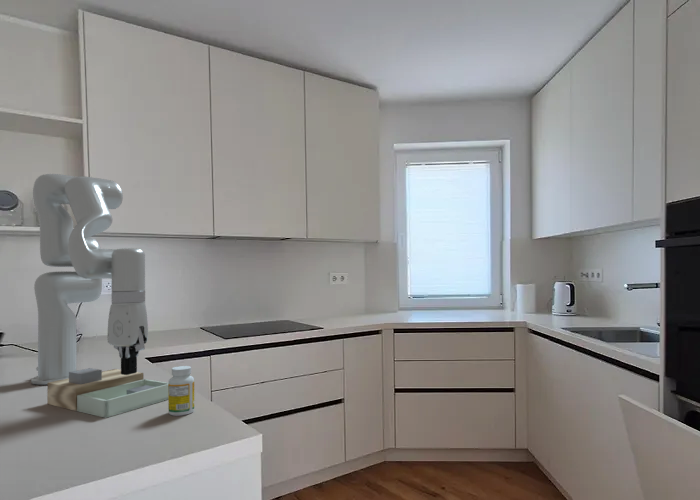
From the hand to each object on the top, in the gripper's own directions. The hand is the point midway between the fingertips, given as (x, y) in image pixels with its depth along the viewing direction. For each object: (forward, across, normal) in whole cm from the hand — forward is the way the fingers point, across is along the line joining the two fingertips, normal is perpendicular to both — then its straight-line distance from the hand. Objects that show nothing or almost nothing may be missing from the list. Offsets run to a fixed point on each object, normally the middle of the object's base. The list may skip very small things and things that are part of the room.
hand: (128, 373), depth 113 cm
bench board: (+6, -8, -4) cm, 10 cm away
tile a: (+3, +6, 0) cm, 7 cm away
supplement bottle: (+6, +22, -2) cm, 22 cm away
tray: (+6, +4, -4) cm, 8 cm away
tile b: (+1, -6, -7) cm, 10 cm away
